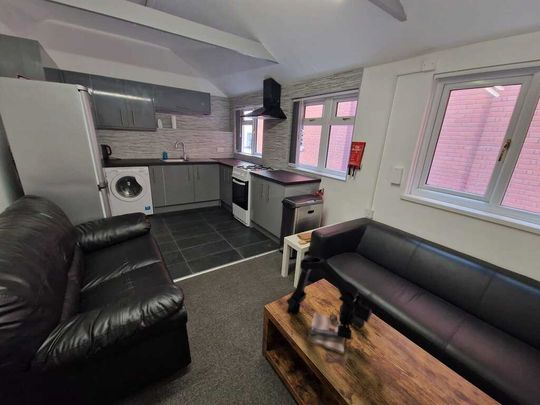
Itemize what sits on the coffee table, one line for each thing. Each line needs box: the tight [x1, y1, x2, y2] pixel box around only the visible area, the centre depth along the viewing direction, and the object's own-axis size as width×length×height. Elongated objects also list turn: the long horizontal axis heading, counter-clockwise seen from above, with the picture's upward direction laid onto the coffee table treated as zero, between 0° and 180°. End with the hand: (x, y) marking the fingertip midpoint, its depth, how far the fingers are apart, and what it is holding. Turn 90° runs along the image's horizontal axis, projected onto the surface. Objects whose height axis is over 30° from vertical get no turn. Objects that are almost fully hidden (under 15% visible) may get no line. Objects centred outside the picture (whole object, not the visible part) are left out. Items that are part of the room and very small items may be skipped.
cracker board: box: [307, 312, 346, 355], centre depth 119 cm, size 18×19×5 cm
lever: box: [308, 324, 344, 339], centre depth 114 cm, size 18×4×8 cm, turn 82°
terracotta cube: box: [329, 325, 335, 332], centre depth 118 cm, size 3×2×2 cm, turn 68°
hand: (342, 333), depth 113 cm, fingers open, 4 cm apart
